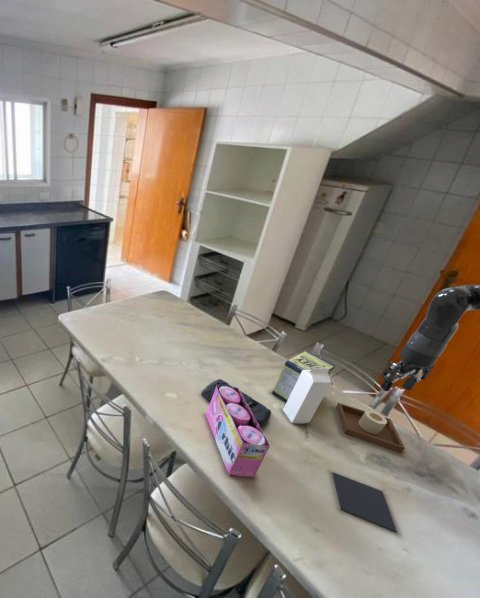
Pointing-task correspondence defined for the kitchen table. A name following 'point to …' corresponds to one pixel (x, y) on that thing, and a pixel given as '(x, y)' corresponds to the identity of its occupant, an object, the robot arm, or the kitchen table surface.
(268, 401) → the kitchen table surface
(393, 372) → the robot arm
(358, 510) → the mat
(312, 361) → the protein box
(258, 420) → the black pouch
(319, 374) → the milk
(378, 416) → the masking tape
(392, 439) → the tray
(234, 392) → the gum box
